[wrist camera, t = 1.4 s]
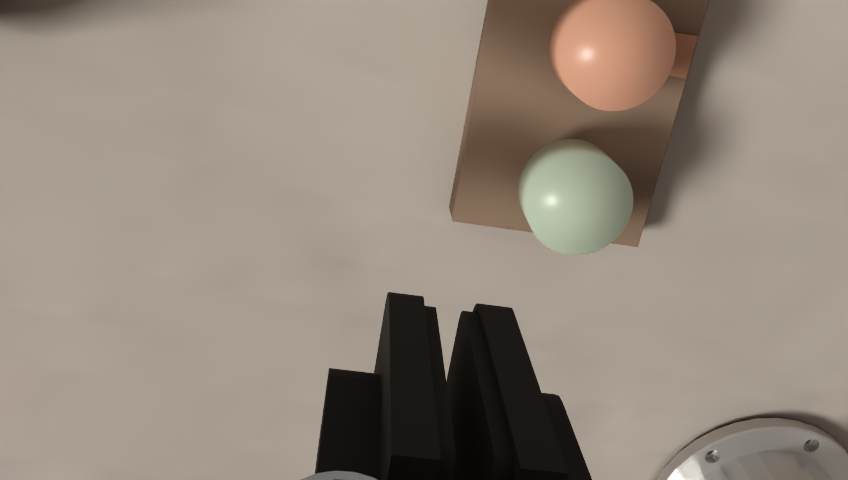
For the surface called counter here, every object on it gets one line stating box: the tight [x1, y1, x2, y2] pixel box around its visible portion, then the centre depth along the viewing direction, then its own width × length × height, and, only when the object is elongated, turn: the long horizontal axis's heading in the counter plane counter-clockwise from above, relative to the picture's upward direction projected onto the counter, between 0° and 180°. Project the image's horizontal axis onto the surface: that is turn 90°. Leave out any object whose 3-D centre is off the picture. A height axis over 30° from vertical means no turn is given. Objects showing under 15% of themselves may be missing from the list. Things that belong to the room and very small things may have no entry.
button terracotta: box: [549, 0, 676, 111], centre depth 30 cm, size 4×4×2 cm
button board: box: [449, 0, 709, 247], centre depth 34 cm, size 18×9×2 cm, turn 171°
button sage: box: [518, 139, 633, 255], centre depth 33 cm, size 4×4×2 cm
